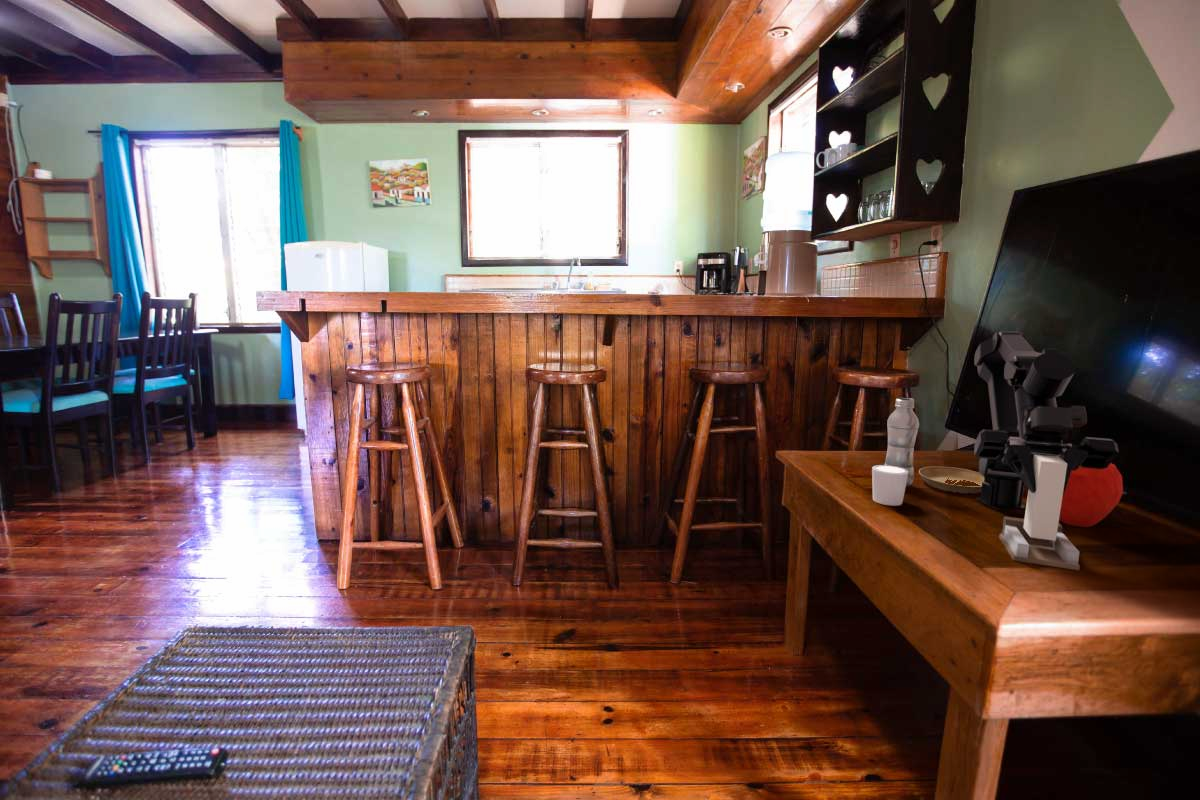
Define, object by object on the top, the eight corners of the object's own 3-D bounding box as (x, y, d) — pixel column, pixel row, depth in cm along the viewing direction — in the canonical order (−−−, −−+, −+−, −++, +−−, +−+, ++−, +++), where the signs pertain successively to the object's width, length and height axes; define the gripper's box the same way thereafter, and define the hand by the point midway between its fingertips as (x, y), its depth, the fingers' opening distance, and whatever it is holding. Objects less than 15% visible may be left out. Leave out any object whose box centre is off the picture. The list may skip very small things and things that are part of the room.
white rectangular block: (1023, 527, 98) (1033, 454, 96) (1047, 530, 97) (1058, 456, 95) (1030, 537, 94) (1041, 461, 92) (1055, 540, 93) (1067, 463, 91)
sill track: (999, 537, 102) (1001, 516, 102) (1058, 545, 99) (1061, 523, 98) (1013, 560, 93) (1016, 537, 93) (1079, 570, 90) (1082, 546, 89)
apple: (1095, 515, 113) (1105, 449, 111) (1132, 538, 102) (1144, 466, 100) (1026, 509, 116) (1034, 445, 114) (1054, 531, 105) (1064, 461, 103)
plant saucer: (1006, 499, 123) (1008, 487, 122) (932, 495, 125) (933, 484, 125) (974, 478, 137) (975, 467, 137) (908, 475, 139) (909, 465, 139)
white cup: (862, 497, 123) (864, 466, 122) (886, 493, 125) (889, 463, 124) (888, 508, 117) (891, 475, 115) (913, 504, 119) (916, 471, 118)
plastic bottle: (902, 480, 135) (910, 396, 131) (919, 489, 128) (928, 401, 125) (875, 480, 135) (882, 396, 131) (891, 490, 128) (899, 401, 124)
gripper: (985, 383, 99) (991, 462, 91) (1123, 390, 91) (1143, 476, 83) (971, 419, 107) (976, 494, 99) (1097, 428, 100) (1113, 509, 92)
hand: (1047, 493), depth 93 cm, fingers closed on white rectangular block, 3 cm apart
